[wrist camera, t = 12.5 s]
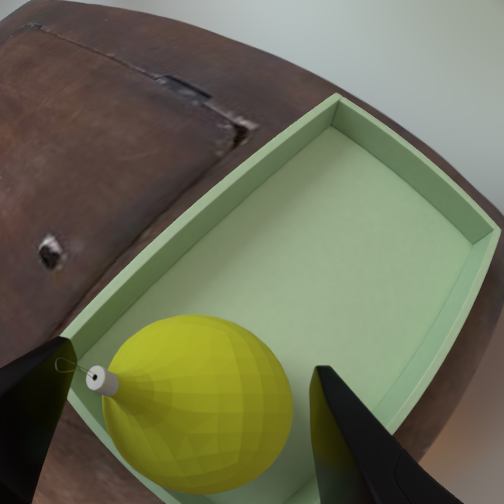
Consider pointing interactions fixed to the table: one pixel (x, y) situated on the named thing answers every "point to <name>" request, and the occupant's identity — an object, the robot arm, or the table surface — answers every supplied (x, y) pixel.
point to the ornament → (195, 404)
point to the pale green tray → (309, 279)
